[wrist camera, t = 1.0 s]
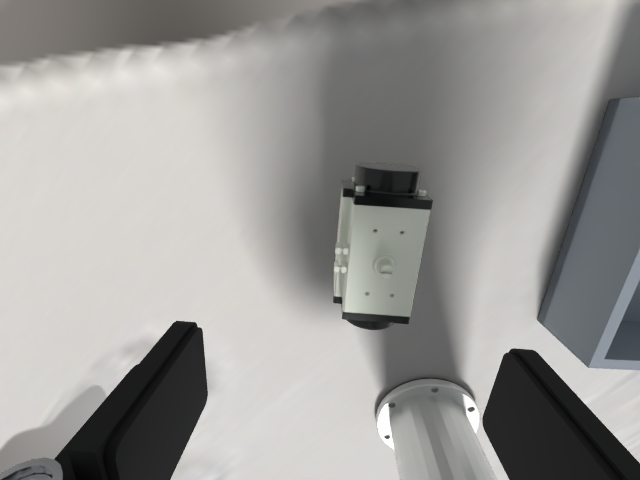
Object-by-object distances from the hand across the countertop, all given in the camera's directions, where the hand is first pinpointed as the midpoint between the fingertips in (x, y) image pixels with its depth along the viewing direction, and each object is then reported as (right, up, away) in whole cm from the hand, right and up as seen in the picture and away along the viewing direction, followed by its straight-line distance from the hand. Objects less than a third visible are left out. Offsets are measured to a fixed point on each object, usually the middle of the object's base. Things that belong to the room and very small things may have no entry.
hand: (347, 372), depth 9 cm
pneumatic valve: (+3, +6, +20) cm, 22 cm away
